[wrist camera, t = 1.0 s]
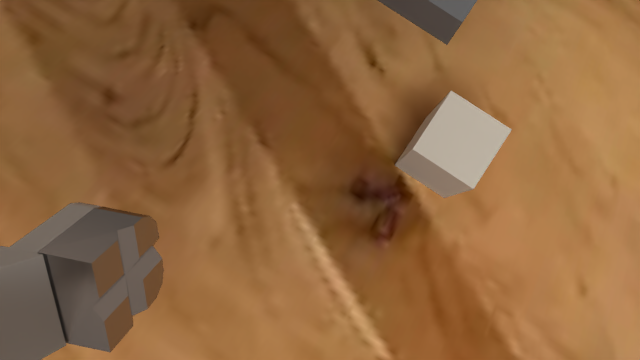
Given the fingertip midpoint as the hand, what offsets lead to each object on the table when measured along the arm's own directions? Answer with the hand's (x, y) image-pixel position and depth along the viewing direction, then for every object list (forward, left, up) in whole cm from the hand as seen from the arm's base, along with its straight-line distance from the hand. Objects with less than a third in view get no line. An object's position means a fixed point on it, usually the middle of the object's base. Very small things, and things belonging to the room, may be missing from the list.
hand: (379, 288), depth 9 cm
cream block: (+3, +10, -33) cm, 35 cm away
